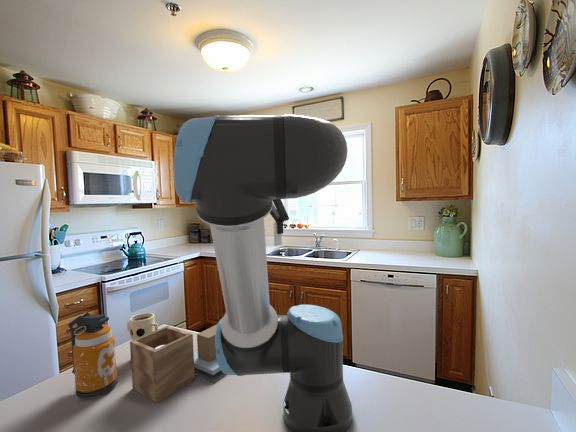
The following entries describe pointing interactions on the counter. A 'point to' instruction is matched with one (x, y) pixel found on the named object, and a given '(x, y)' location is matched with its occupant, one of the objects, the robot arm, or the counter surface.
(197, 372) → the mat
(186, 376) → the box
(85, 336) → the canister
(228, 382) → the counter surface
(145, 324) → the character mug
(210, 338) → the lid
